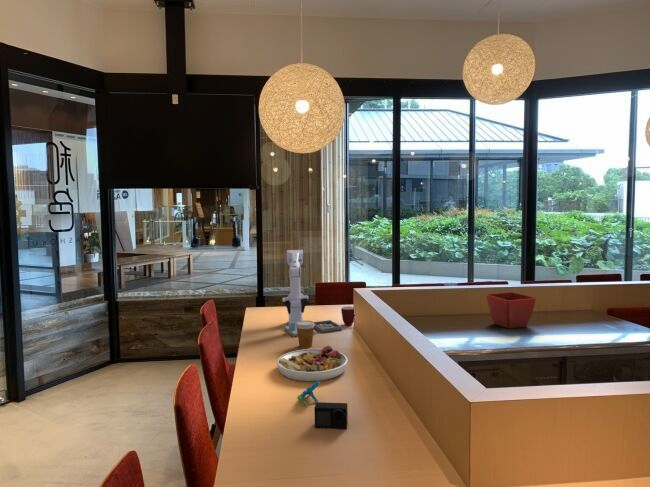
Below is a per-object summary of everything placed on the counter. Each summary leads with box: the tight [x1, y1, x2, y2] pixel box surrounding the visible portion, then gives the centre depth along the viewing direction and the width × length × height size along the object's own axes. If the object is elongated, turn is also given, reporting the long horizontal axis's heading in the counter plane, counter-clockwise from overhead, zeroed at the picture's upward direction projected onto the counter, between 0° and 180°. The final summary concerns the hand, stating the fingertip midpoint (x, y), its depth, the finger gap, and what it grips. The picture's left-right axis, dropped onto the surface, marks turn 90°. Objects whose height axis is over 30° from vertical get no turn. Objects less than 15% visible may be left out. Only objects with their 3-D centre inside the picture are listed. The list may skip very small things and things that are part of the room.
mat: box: [284, 327, 318, 338], centre depth 265 cm, size 16×13×1 cm
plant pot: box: [486, 291, 537, 329], centre depth 270 cm, size 19×19×17 cm
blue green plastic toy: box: [296, 381, 321, 407], centre depth 173 cm, size 11×6×10 cm
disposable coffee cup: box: [296, 320, 315, 349], centre depth 238 cm, size 10×10×12 cm
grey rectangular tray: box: [313, 319, 343, 334], centre depth 271 cm, size 16×12×2 cm
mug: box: [340, 306, 355, 327], centre depth 276 cm, size 10×8×10 cm
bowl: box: [276, 345, 348, 382], centre depth 205 cm, size 30×30×8 cm
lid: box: [284, 322, 317, 335], centre depth 265 cm, size 16×12×5 cm
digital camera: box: [313, 401, 349, 430], centre depth 154 cm, size 10×5×7 cm, turn 83°
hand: (296, 313), depth 265 cm, fingers open, 7 cm apart
